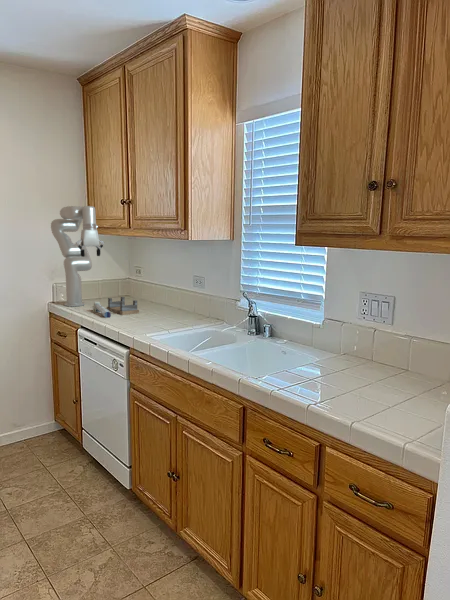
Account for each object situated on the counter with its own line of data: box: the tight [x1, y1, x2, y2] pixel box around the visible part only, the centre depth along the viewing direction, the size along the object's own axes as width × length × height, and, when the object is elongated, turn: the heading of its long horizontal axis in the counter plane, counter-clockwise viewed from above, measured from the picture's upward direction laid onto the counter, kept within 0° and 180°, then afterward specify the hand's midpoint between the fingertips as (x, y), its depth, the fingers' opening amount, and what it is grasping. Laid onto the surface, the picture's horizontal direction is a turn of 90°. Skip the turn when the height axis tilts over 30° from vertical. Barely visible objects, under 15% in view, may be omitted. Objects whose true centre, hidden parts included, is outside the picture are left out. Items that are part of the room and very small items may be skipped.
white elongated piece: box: [91, 301, 112, 319], centre depth 270 cm, size 5×7×25 cm
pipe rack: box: [106, 296, 140, 316], centre depth 279 cm, size 21×11×8 cm, turn 40°
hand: (90, 256), depth 273 cm, fingers open, 9 cm apart
